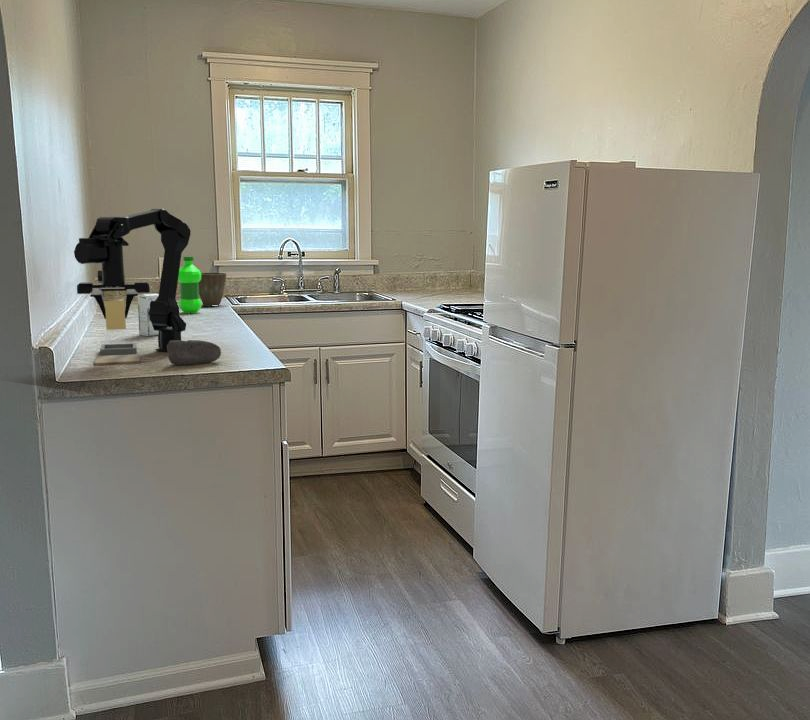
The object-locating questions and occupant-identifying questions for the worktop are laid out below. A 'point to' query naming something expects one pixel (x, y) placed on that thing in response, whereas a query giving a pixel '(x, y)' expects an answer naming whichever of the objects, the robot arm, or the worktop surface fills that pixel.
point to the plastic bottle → (189, 287)
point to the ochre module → (115, 314)
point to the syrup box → (146, 314)
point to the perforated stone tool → (192, 352)
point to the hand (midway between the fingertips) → (115, 318)
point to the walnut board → (117, 359)
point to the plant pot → (211, 288)
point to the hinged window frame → (118, 349)
